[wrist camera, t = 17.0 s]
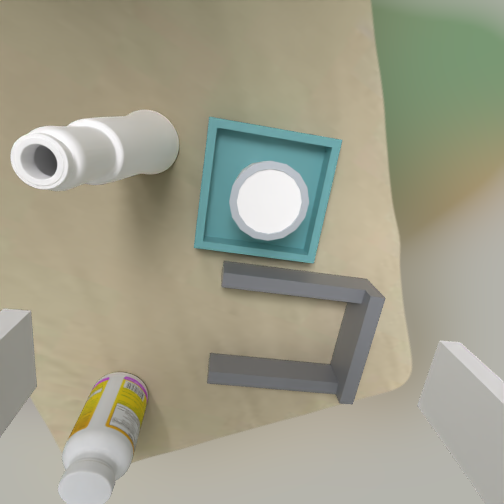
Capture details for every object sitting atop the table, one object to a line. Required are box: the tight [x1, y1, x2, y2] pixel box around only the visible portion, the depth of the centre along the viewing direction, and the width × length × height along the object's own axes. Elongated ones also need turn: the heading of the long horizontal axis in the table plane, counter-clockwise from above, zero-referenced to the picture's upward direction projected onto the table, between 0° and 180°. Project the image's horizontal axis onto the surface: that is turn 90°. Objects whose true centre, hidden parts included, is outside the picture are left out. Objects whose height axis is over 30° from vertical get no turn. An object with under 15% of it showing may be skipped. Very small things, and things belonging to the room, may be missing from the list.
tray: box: [194, 117, 342, 263], centre depth 36 cm, size 13×13×2 cm
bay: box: [207, 261, 385, 404], centre depth 40 cm, size 17×14×5 cm
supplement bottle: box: [58, 372, 148, 504], centre depth 38 cm, size 7×7×13 cm
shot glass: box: [229, 161, 309, 241], centre depth 34 cm, size 7×7×7 cm
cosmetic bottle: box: [11, 110, 179, 191], centre depth 25 cm, size 6×6×22 cm
